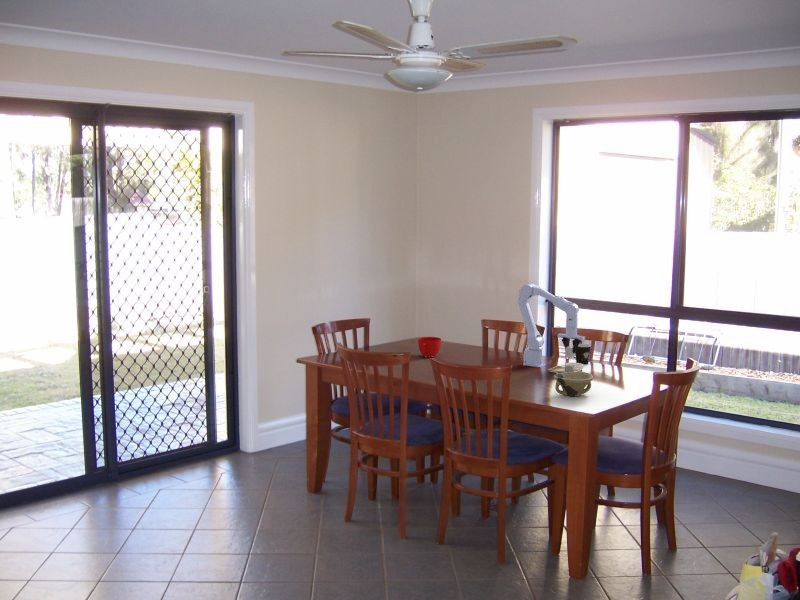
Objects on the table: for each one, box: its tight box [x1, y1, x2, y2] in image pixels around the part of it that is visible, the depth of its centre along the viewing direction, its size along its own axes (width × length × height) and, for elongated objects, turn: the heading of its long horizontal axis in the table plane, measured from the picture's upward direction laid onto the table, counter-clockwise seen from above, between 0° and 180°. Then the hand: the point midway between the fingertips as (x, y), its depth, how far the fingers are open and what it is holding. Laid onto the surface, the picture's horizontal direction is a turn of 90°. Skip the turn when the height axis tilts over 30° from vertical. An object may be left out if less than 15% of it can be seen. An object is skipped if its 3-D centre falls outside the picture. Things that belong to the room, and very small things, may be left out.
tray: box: [547, 365, 583, 374], centre depth 414 cm, size 14×11×2 cm
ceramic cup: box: [417, 336, 442, 358], centre depth 449 cm, size 13×17×10 cm
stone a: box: [564, 345, 576, 358], centre depth 420 cm, size 4×4×5 cm
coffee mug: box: [573, 343, 592, 366], centre depth 435 cm, size 12×9×10 cm
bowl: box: [553, 371, 594, 397], centre depth 369 cm, size 18×18×10 cm
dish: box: [565, 362, 585, 370], centre depth 423 cm, size 9×9×2 cm
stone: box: [564, 364, 574, 372], centre depth 410 cm, size 4×3×4 cm
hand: (570, 352), depth 420 cm, fingers closed on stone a, 4 cm apart
